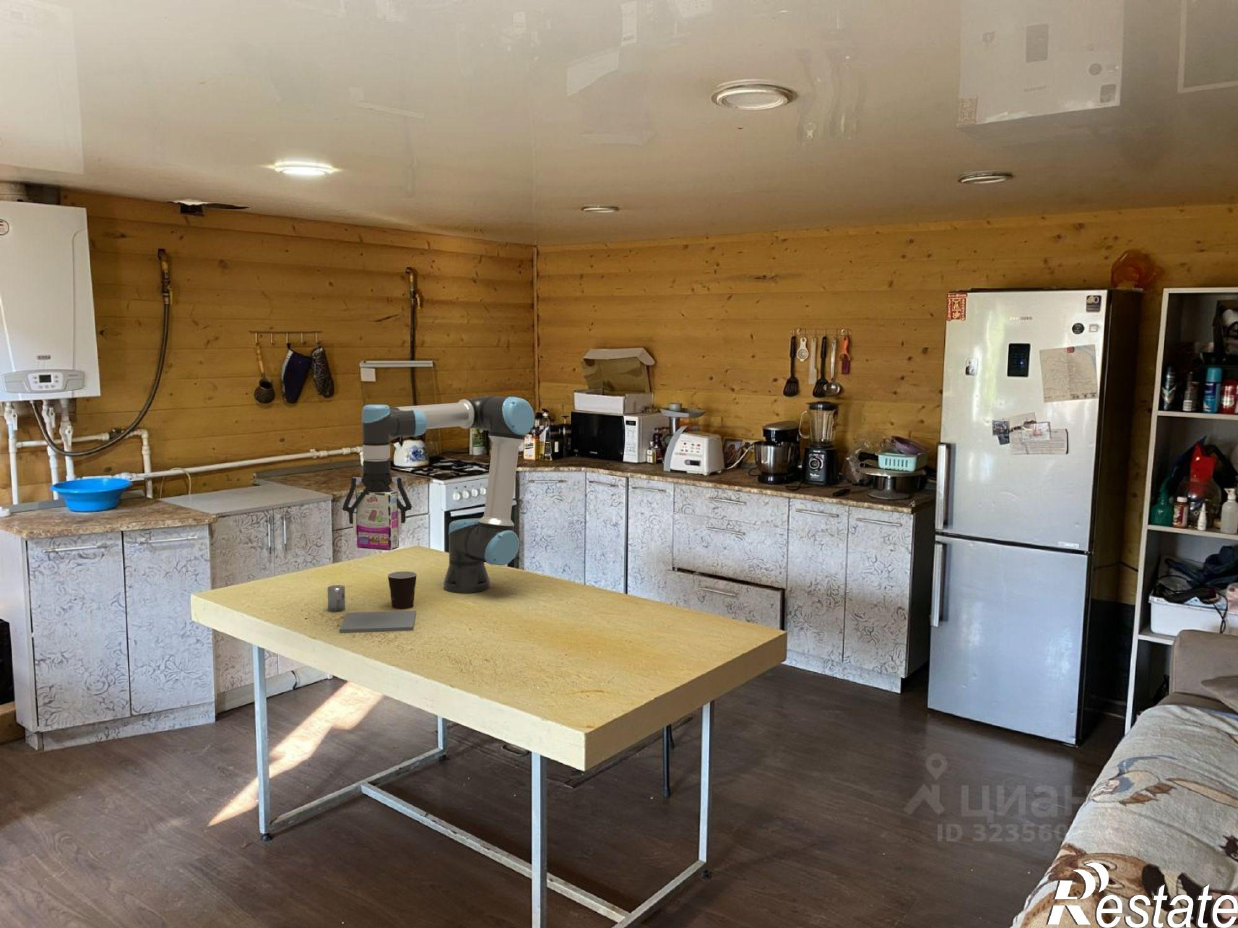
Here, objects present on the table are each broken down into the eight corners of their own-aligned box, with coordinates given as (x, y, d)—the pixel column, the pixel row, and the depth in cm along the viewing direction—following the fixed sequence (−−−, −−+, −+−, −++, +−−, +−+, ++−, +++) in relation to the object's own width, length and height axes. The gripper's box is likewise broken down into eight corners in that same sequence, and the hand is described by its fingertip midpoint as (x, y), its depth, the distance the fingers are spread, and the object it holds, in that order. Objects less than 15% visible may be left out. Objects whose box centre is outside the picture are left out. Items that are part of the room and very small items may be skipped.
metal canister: (346, 607, 275) (345, 584, 274) (344, 611, 270) (343, 589, 269) (329, 607, 274) (328, 585, 273) (326, 612, 269) (326, 589, 268)
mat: (416, 613, 269) (416, 610, 269) (413, 630, 253) (412, 626, 253) (347, 615, 266) (347, 612, 266) (339, 632, 250) (339, 629, 250)
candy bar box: (400, 547, 257) (399, 491, 255) (390, 551, 253) (389, 493, 251) (365, 544, 261) (364, 488, 259) (356, 548, 256) (355, 491, 254)
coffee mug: (409, 611, 272) (409, 579, 270) (383, 609, 273) (382, 577, 272) (425, 600, 283) (425, 570, 282) (400, 598, 285) (399, 568, 283)
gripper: (420, 457, 259) (421, 531, 262) (334, 457, 255) (336, 532, 258) (419, 461, 252) (420, 536, 255) (330, 461, 248) (332, 538, 251)
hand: (377, 534), depth 256 cm, fingers closed on candy bar box, 12 cm apart
